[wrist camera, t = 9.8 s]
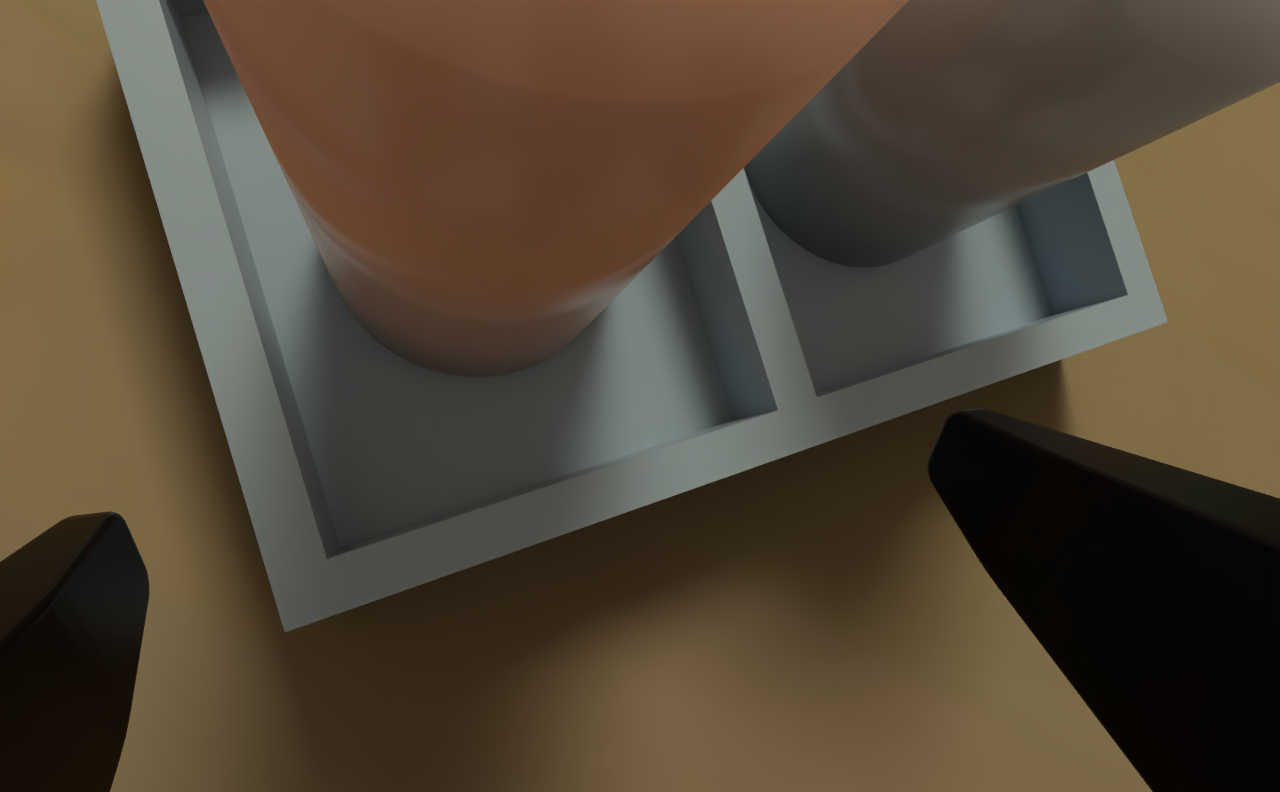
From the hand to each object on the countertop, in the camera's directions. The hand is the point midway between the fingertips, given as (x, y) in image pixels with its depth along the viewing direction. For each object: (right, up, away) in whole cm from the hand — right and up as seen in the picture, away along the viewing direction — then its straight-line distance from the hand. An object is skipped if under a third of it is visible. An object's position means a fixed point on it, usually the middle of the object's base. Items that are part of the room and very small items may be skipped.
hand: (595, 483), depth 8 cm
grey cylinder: (+6, +8, +13) cm, 16 cm away
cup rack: (+1, +6, +12) cm, 13 cm away
